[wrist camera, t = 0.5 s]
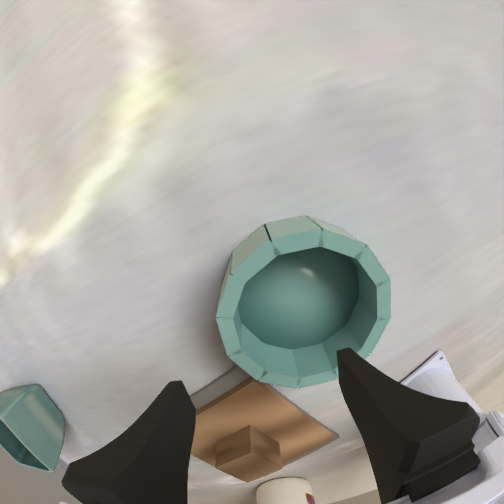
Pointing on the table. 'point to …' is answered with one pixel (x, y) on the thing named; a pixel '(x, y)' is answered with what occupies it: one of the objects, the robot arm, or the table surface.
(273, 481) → the milk bottle
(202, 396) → the mat
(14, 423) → the flower pot
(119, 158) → the table surface
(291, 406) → the lid
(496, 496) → the robot arm
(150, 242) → the table surface
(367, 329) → the bowl
